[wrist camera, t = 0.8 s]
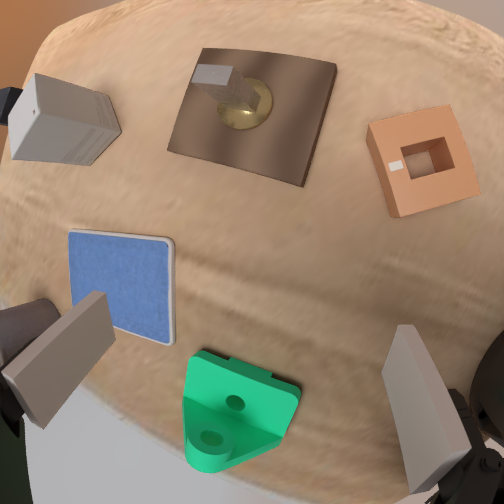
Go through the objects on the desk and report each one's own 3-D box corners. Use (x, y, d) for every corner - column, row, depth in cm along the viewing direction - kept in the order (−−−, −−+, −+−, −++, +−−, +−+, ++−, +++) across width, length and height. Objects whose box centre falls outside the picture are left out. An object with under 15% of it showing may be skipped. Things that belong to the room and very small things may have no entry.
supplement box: (109, 94, 32) (35, 69, 20) (123, 133, 31) (39, 113, 20) (77, 128, 34) (6, 115, 22) (88, 168, 34) (9, 161, 22)
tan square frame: (433, 122, 21) (450, 103, 16) (459, 197, 21) (482, 193, 16) (365, 140, 23) (368, 122, 18) (390, 216, 23) (400, 217, 18)
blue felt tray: (77, 310, 39) (71, 312, 38) (72, 227, 37) (65, 228, 36) (178, 344, 33) (172, 349, 31) (178, 236, 31) (171, 237, 30)
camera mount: (305, 383, 28) (280, 449, 18) (284, 431, 29) (256, 494, 20) (201, 343, 31) (145, 388, 22) (192, 393, 33) (144, 441, 23)
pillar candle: (64, 360, 42) (0, 389, 28) (36, 326, 44) (-24, 347, 30) (69, 321, 39) (-6, 348, 25) (40, 286, 42) (-29, 303, 27)
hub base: (337, 70, 23) (327, 20, 15) (303, 187, 25) (280, 175, 17) (209, 54, 27) (166, 16, 19) (174, 152, 29) (119, 137, 21)
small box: (59, 96, 36) (10, 84, 26) (47, 133, 37) (-3, 125, 27) (35, 97, 38) (-7, 88, 29) (26, 129, 40) (-17, 123, 30)
